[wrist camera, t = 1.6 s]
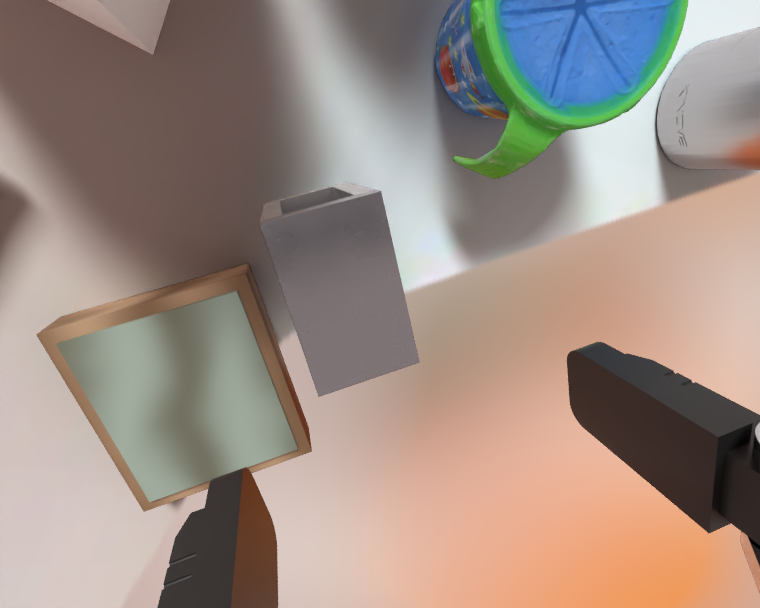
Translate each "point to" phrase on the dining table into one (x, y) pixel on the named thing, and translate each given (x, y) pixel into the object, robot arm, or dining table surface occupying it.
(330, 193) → the housing
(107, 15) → the milk
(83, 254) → the dining table surface
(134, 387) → the wooden tray
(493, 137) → the dining table surface
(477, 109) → the snack cup
